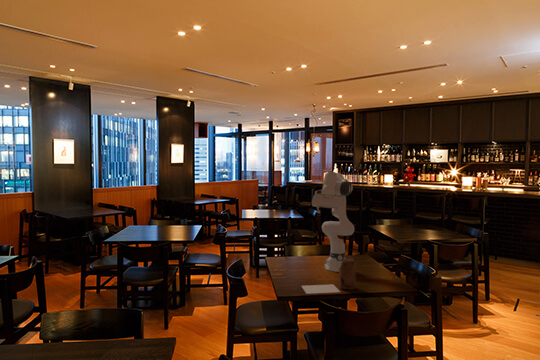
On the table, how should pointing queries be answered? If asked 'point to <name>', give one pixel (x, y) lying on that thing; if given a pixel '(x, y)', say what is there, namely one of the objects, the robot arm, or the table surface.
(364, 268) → the table surface
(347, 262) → the block
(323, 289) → the mat
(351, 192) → the robot arm
